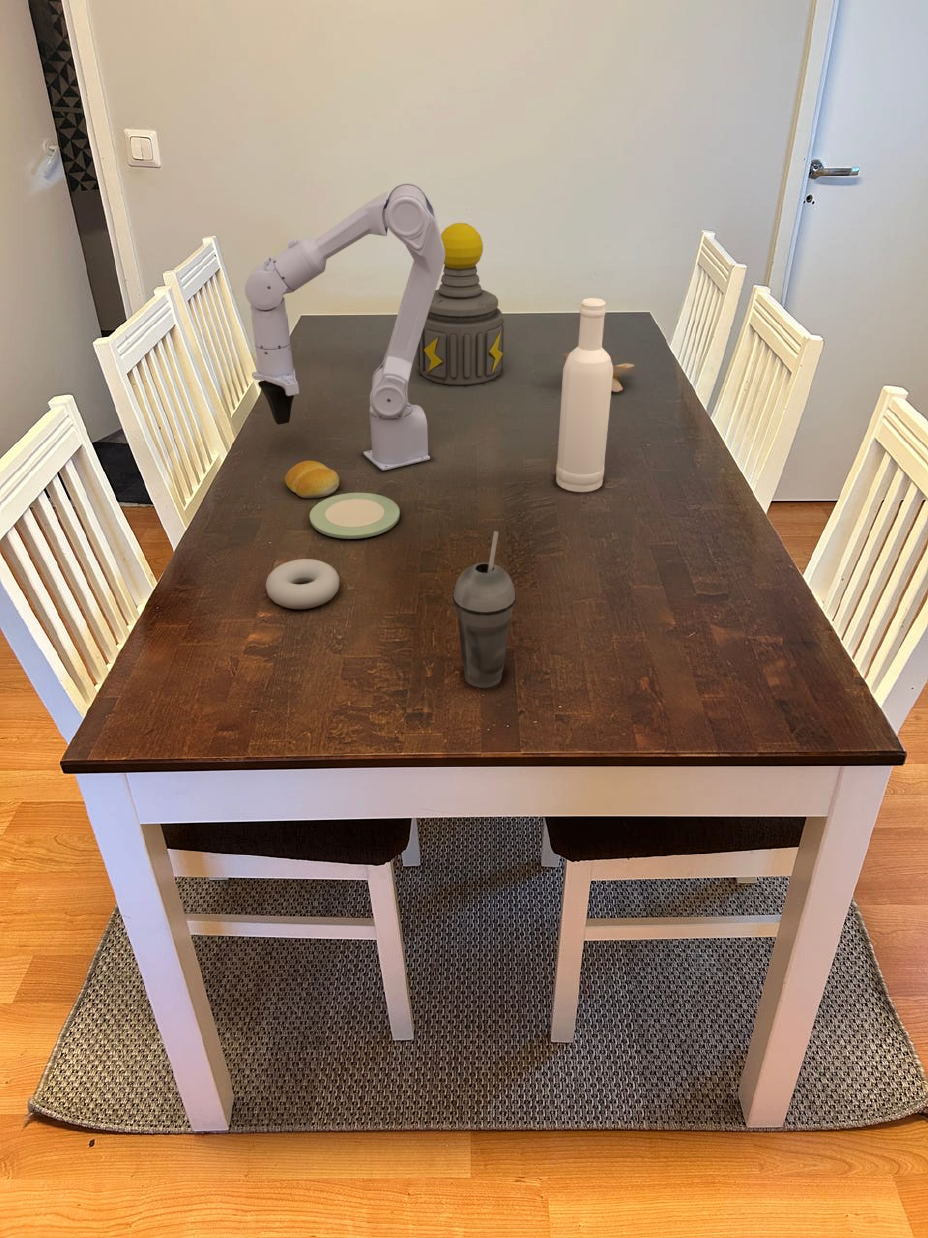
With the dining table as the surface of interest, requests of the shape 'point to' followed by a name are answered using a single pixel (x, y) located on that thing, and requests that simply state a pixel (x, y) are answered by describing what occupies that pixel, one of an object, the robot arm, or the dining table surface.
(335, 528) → the plate
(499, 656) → the beverage cup
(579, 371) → the bottle
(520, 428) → the dining table surface
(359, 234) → the robot arm
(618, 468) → the dining table surface
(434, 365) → the decorative lamp
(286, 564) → the donut
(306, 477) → the bread roll
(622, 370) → the decorative flower
